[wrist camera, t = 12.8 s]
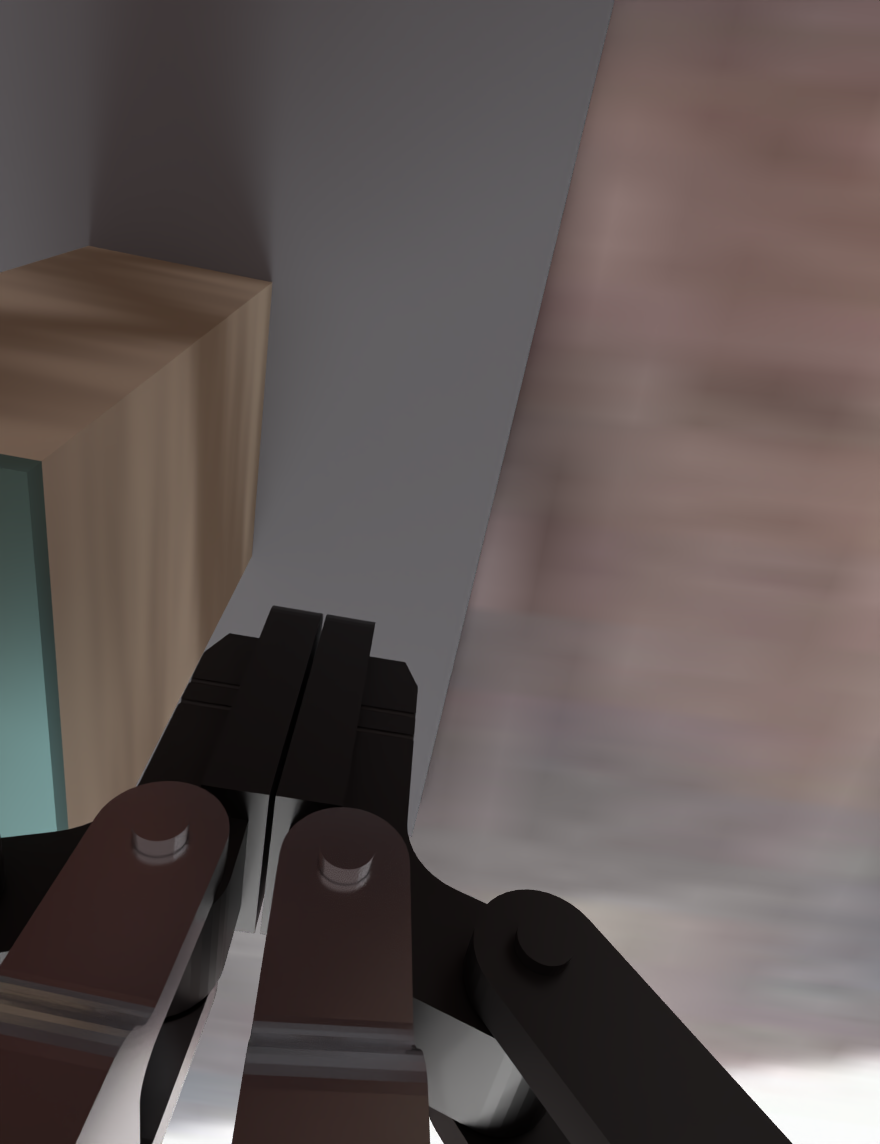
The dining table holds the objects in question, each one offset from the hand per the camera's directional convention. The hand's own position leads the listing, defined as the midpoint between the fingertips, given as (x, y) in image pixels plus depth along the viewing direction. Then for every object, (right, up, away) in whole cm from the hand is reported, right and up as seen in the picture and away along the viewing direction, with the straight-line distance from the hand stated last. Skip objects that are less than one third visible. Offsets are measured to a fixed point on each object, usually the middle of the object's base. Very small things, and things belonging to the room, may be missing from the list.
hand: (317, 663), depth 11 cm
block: (-4, +5, +7) cm, 10 cm away
